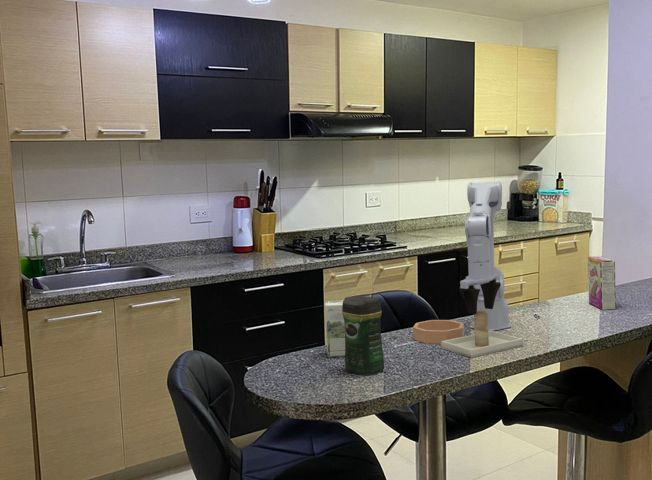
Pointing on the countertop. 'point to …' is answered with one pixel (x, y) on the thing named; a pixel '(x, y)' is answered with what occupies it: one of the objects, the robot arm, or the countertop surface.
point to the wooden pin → (481, 328)
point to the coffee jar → (363, 335)
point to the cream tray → (469, 349)
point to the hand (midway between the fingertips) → (480, 311)
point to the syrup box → (335, 328)
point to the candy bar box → (601, 282)
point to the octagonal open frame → (437, 331)
